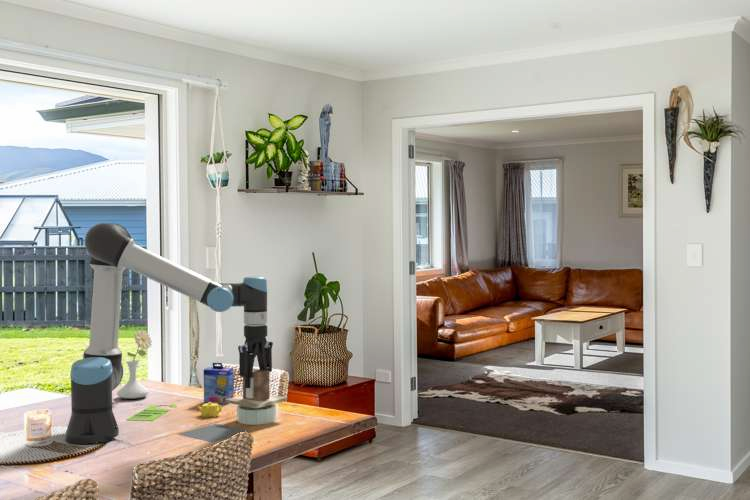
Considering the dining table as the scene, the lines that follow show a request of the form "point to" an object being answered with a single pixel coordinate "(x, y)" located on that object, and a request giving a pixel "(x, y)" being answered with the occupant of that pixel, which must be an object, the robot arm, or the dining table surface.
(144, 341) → the flower in vase
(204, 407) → the teapot
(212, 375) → the ink cartridge box
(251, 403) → the lid
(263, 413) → the bowl
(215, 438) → the mat
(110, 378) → the robot arm
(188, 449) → the dining table surface
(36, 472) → the dining table surface
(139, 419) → the door hanger
